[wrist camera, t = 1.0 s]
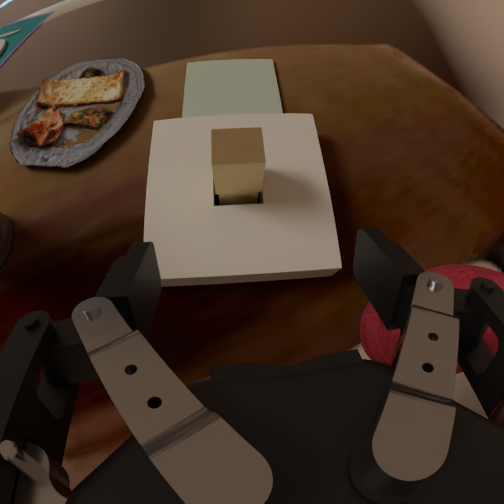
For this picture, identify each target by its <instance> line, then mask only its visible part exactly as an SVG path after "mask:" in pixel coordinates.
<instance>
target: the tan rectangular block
mask: <svg viewBox="0 0 504 504" xmlns="http://www.w3.org/2000/svg"><path fill="white" fill-rule="evenodd" d="M211 159H212V172H213V180H214V187H215V194H219V202H220V206H224V205H243V204H257V198H258V192H261V191H262V184H263V178H264V171H265V165H266V160H265V151H264V143H263V134H262V127H253V128H227V129H211Z"/></svg>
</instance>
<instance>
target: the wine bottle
mask: <svg viewBox="0 0 504 504" xmlns="http://www.w3.org/2000/svg"><path fill="white" fill-rule="evenodd" d="M425 272H434V273H438V274H441V275H443V276H445V277H447V278H448V279H449V280H450V281H451V282H452V283H453V286H454V288H459V289H469V286H470V283H471V281H472V279H473V278H475V277H483V278H487V279H490V280H492V281H493V282H495V283H496V284H497V285H499V286H500V288H501V289H502V290H503V291H504V273H502V272H498V271H494V270H491V269H487V268H484V267H479V266H473V265H463V264H451V265H443V266H438V267H435V268H431V269H428V270H426V271H425ZM359 332H360V340H361V343H362V346H363V348H364V351H365V352H366V354H367V355H368V356H369V358H370V359H371V360H374V361H378V362H382V363H385V364H388V365H390V363H391V360H392V357H393V354H394V350H395V347H396V344H397V341H398V337H399V335H400V332H401V330H400V329H395V330H390V331H387V329H386V328H385V326H384V324H383V322H382V321H381V319H380V317H379V316H378V314H377V312H376V311H375V309H374V308H373V306H372V304H371V303H370V301H369V303H368V304H367V306H366V307H365V309H364V311H363V314H362V316H361V320H360V329H359ZM482 339H483V340H484V341H485V343H486V344H487V346H488V347H489V349H490V350H491V352H492V353H493V355H495V354H496V352H497V350H498V346H499V343H498V338H497V336H496V335H495V334H494V332H493V331H492V330H491V328H490V327H489V326H488V328H487V330H486V332H485V334H484V336H483V338H482ZM460 372H463V371H462V369H461V367H460V365H459V364H458V362H457V367H456V374H457V373H460Z"/></svg>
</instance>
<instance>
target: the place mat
mask: <svg viewBox="0 0 504 504" xmlns="http://www.w3.org/2000/svg"><path fill="white" fill-rule="evenodd" d="M54 12H55V11H54ZM52 13H53V12H50V13H45V14H41V15H37V16H34V17H30V18H26V19H23V20H19V21H16V22H13V23H10V24H7V25H4V26H2V27H1V28H0V69H1V68H2V66H3V65H4V64H5V63H6V62H7V61H8V60H9V58H10V57H11V56H12V55H13V54H14V53H15V52H16V51H17V50H18V49H19V48H20V46H21V45H22V44H23V43H24V42H25V41H26V40H27V39H28V38H29V37H30V36H31V35H32V34H33V33H34V32H35V31H36V30H37V29H38V28H39V27H41V26H42V25H43V24H44V23H43V24H41V23H42V22H43V21H44V20H46V19H47V18H48V17H49V16H50V15H51V14H52ZM40 24H41V25H40Z"/></svg>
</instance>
